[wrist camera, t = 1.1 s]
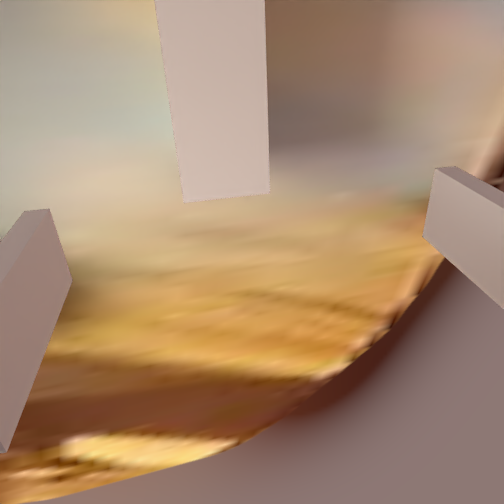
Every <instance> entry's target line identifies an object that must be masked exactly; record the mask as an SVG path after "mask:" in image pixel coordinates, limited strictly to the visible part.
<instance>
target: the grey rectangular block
mask: <svg viewBox="0 0 504 504" xmlns="http://www.w3.org/2000/svg"><path fill="white" fill-rule="evenodd" d="M154 1H155V8H156V15H157V22H158V29H159V35H160V42H161V49H162V56H163V63H164V70H165V77H166V84H167V91H168V98H169V104H170V111H171V118H172V125H173V132H174V139H175V146H176V153H177V160H178V167H179V173H180V180H181V187H182V194H183V201H184V203H188V202H197V201H206V200H215V199H224V198H233V197H242V196H251V195H260V194H269V193H270V170H269V134H268V99H267V63H266V27H265V0H154Z"/></svg>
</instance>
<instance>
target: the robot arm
mask: <svg viewBox="0 0 504 504" xmlns="http://www.w3.org/2000/svg"><path fill="white" fill-rule="evenodd" d="M422 237H423V238H424V239H426V240H427V241H428V242H429V243H430V244H431V245H432V246H433V247H434V248H436V249H437V250H438V251H439V252H440V253H441V254H442V255H443V256H445V257H446V258H447V259H448V260H449V261H450V262H451V263H452V264H454V265H455V266H456V267H457V268H458V269H459V270H460V271H461V272H463V273H464V274H465V275H466V276H467V277H468V278H469V279H470V280H472V282H474V283H475V284H476V285H477V286H478V287H479V288H480V289H481V290H483V291H484V292H485V293H486V294H487V295H488V296H489V297H490V298H492V299H493V300H494V301H495V302H496V303H497V304H498V305H500V307H502V308H503V309H504V192H502V191H500V190H498V189H496V188H495V187H493V186H491V185H489V184H487V183H485V182H483V181H482V180H480V179H478V178H476V177H474V176H472V175H470V174H469V173H467V172H465V171H463V170H461V169H459V168H457V167H456V166H453V167H444V168H435V172H434V178H433V183H432V188H431V194H430V199H429V204H428V210H427V215H426V220H425V226H424V231H423V236H422ZM72 281H73V280H72V277H71V274H70V271H69V268H68V264H67V261H66V258H65V255H64V252H63V249H62V246H61V243H60V240H59V237H58V234H57V230H56V227H55V224H54V221H53V218H52V215H51V212H50V209H41V210H31V211H24V212H23V213H22V215H21V216H20V217H19V219H18V220H17V221H16V222H15V224H14V225H13V226H12V228H11V229H10V230H9V232H8V233H7V234H6V236H5V237H4V238H3V239H2V241H1V242H0V453H5V452H7V450H8V447H9V445H10V442H11V440H12V437H13V434H14V432H15V429H16V427H17V424H18V421H19V419H20V416H21V414H22V411H23V408H24V406H25V403H26V400H27V398H28V395H29V393H30V390H31V387H32V385H33V382H34V380H35V377H36V374H37V372H38V369H39V367H40V364H41V361H42V359H43V356H44V354H45V351H46V348H47V346H48V343H49V341H50V338H51V335H52V333H53V330H54V328H55V325H56V322H57V320H58V317H59V315H60V312H61V309H62V307H63V304H64V302H65V299H66V296H67V294H68V291H69V288H70V286H71V283H72Z"/></svg>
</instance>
